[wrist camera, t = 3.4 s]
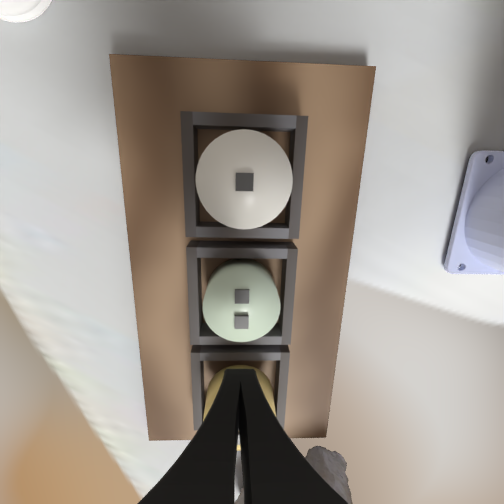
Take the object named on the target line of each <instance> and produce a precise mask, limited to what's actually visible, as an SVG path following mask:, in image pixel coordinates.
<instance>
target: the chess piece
mask: <svg viewBox="0 0 504 504" xmlns="http://www.w3.org/2000/svg"><path fill="white" fill-rule="evenodd" d="M51 1H52V0H0V19H2V20H5V21H9V22H27V21H30V20H33V19H35V18H37V17H38V16H40V15H41V14H42V13H43V12H44V11H45V10H46V9H47V8H48V7H49V5H50V3H51Z"/></svg>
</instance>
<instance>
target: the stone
mask: <svg viewBox="0 0 504 504" xmlns="http://www.w3.org/2000/svg"><path fill="white" fill-rule="evenodd" d="M305 459H306V460H307V461H308V462H309V463H310V465H311V466H312V467H313V468H314V469H315V471H316V472H317V473H318V474H319V475H320V476H321V477H322V478H323V479H324V480H325V481H326V482H327V483H328V484H329V485H330V486H331V487H332V488H333V489H334V490H335V491H336V492H337V493H338V494H339V495H340V496H341V497H342V498H343V499H344V500H345V501H347V503H348V504H352V500H351V492H350V489H349V486H348V478H347V476H346V474H345V471H346V466H347V465H346V464H347V463H346V462H345V460H344V458H343V457H342V456H341V455H340V454H339V453H337V452H336V451H333V452H331V451H329V450H327V449H326V448H324V447H321V446H316V447H313V448H312V449H309V450H308V453H307V456H306V457H305ZM240 491H241V493H240V495H239V497H238V499H237V500H236V501H235V503H234V504H244V487H243V488H242V489H241V490H240Z"/></svg>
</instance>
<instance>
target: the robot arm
mask: <svg viewBox="0 0 504 504" xmlns="http://www.w3.org/2000/svg"><path fill="white" fill-rule="evenodd" d="M487 156H488V161H487V163H486V162H485V159H486V157H487ZM460 264H461V267H460V268H459V269H458V266H459V265H460ZM444 269H445V271H447V272H448V273H451V274H504V151H487V150H482V151H476V152H474V153H473V154H472V155H471V157H470V159H469V163H468V167H467V171H466V176H465V180H464V184H463V188H462V192H461V197H460V201H459V205H458V209H457V213H456V218H455V222H454V226H453V230H452V234H451V239H450V243H449V247H448V251H447V255H446V259H445V264H444ZM238 432H239V436H240V448H241V460H242V472H243V485H244V504H348V503H347V501H345V500H344V499H343V498H342V497H341V496H340V495H339V494H338V493H337V492H336V491H335V490H334V489H333V488H332V487H331V486H330V485H329V484H328V483H327V482H326V481H325V480H324V479H323V478H322V477H321V476H320V475H319V474H318V473H317V472H316V471H315V469H314V468H313V467H312V466H311V465H310V463H309V462H308V461H307V460H306V459H305V458H304V456H303V455H302V454H301V453H300V452H299V450H298V449H297V448H296V446H295V445H294V444H293V442H292V441H291V439H290V438H289V437H288V435H287V434H286V432H285V431H284V429H283V428H282V426H281V424H280V423H279V421H278V419H277V418H276V416H275V414H274V413H273V411H272V409H271V407H270V405H269V403H268V401H267V399H266V397H265V395H264V393H263V391H262V388H261V386H260V383H259V381H258V378H257V374H256V371H255V370H254V369H226V370H225V371H224V376H223V379H222V383H221V385H220V388H219V390H218V393H217V395H216V397H215V399H214V402H213V404H212V406H211V408H210V410H209V411H208V413H207V415H206V417H205V419H204V421H203V422H202V424H201V426H200V427H199V429H198V431H197V432H196V434H195V435H194V437H193V438H192V440H191V441H190V443H189V444H188V446H187V447H186V448H185V450H184V451H183V453H182V454H181V455H180V457H179V458H178V459H177V460H176V462H175V463H174V464H173V465H172V467H171V468H170V469H169V470H168V471H167V473H166V474H165V475H164V476H163V477H162V478H161V480H160V481H159V482H158V483H157V484H156V485H155V486H154V487H153V488H152V489H151V490H150V491H149V492H148V493H147V495H146V496H145V497H144V498H143V499H142V500H141V501H140V502H139V503H138V504H234V476H235V464H236V453H237V443H238Z"/></svg>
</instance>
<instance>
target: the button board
mask: <svg viewBox="0 0 504 504" xmlns="http://www.w3.org/2000/svg"><path fill="white" fill-rule="evenodd" d="M109 58H110V68H111V77H112V87H113V97H114V106H115V116H116V126H117V135H118V145H119V155H120V164H121V174H122V184H123V193H124V203H125V213H126V222H127V232H128V242H129V251H130V261H131V271H132V280H133V290H134V300H135V309H136V319H137V329H138V338H139V348H140V358H141V367H142V377H143V387H144V396H145V406H146V416H147V425H148V435H149V441H152V440H192V438H193V437H194V435H195V434H196V432H197V431H198V429H199V427H200V426H201V424H202V422H203V417H204V410H205V403H206V396H207V389H208V385H209V382H210V381H211V379H212V378H213V376H214V375H215V374H216V373H218V372H219V371H220V370H222V369H224V368H226V367H229V366H233V365H248V366H252V367H255V368H257V369H259V370H261V371H262V372H263V373H264V374H265V375H266V376H267V377H268V378H269V380H270V382H271V385H272V391H273V398H274V405H275V412H276V418H277V419H278V421H279V423H280V424H281V426H282V428H283V429H284V431H285V432H286V434H287V435H288V437H289V438H320V437H321V438H323V437H326V433H327V426H328V418H329V411H330V403H331V396H332V388H333V380H334V373H335V366H336V359H337V352H338V344H339V337H340V329H341V321H342V315H343V307H344V299H345V292H346V285H347V277H348V270H349V263H350V255H351V248H352V240H353V233H354V226H355V218H356V211H357V203H358V196H359V189H360V181H361V174H362V166H363V159H364V152H365V144H366V137H367V129H368V122H369V114H370V107H371V100H372V92H373V85H374V77H375V70H376V66H356V65H335V64H313V63H292V62H270V61H248V60H227V59H205V58H184V57H162V56H141V55H119V54H109ZM241 129H247V130H254V131H258V132H261V133H263V134H265V135H267V136H269V137H271V138H272V139H273V140H274V141H276V142H277V143H278V144H279V145H280V146H281V148H282V149H283V150H284V152H285V154H286V155H287V157H288V160H289V162H290V165H291V169H292V176H293V184H292V190H291V194H290V197H289V200H288V202H287V204H286V206H285V207H284V209H283V210H282V211H281V213H280V214H279V215H278V216H277V217H276V218H274V219H273V220H272V221H270V222H269V223H267V224H265V225H263V226H261V227H257V228H253V229H236V228H231V227H228V226H226V225H224V224H222V223H220V222H218V221H217V220H215V219H214V218H213V217H212V216H211V215H210V214H209V213H208V212H207V211H206V209H205V208H204V206H203V205H202V203H201V201H200V199H199V196H198V193H197V188H196V170H197V165H198V162H199V160H200V157H201V155H202V153H203V152H204V150H205V149H206V148H207V146H208V145H209V144H210V143H211V142H212V141H213V140H215V139H216V138H217V137H219V136H221V135H223V134H225V133H227V132H230V131H234V130H241ZM237 258H247V259H251V260H254V261H257V262H259V263H261V264H262V265H263V266H265V267H266V268H267V269H268V270H269V272H270V273H271V275H272V277H273V279H274V282H275V285H276V289H277V292H278V295H279V299H280V314H279V318H278V320H277V322H276V324H275V325H274V327H273V328H272V329H271V330H270V331H269V332H268V333H267V334H265V335H264V336H262V337H260V338H258V339H256V340H252V341H248V342H234V341H230V340H226V339H224V338H222V337H220V336H218V335H217V334H216V333H214V332H213V331H212V330H211V329H210V327H209V326H208V324H207V323H206V321H205V318H204V315H203V300H204V296H205V292H206V289H207V285H208V281H209V279H210V277H211V275H212V273H213V272H214V270H215V269H216V268H217V267H218V266H220V265H221V264H223V263H224V262H226V261H229V260H232V259H237Z"/></svg>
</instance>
